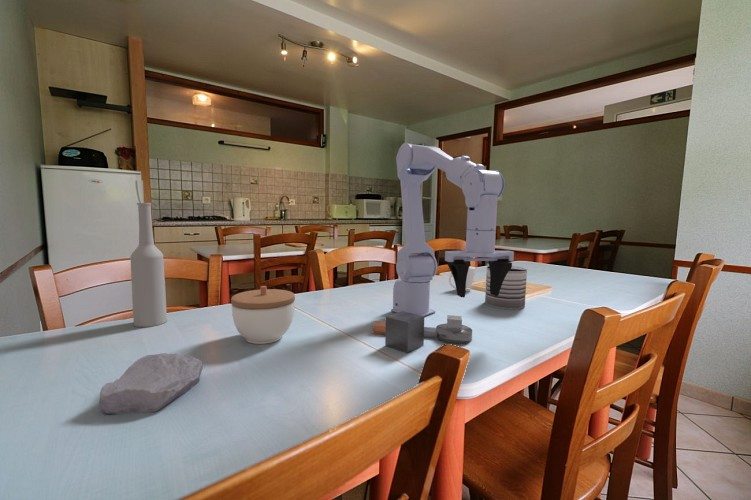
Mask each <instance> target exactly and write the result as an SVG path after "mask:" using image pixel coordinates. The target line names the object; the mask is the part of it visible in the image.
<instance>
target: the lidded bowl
mask: <svg viewBox="0 0 751 500" xmlns="http://www.w3.org/2000/svg"><path fill="white" fill-rule="evenodd" d="M295 300H296V295H295V293H294V292H292V291H290V290H285V289H277V288H273V289H272V288H267V285H261V286H260V289H253V290H246V291H242V292H238V293H236V294H234V295H232V296H231V298H230V304H231V313H232V314H231V315H232V321H233V324H234V326H235V329H236V331H237V332H238V334H239V335H240V336H242V337H243V338H244V339H245V340H246V342H247V343H250V344H254V345H266V344H271V343H275V342H278V341H280V340H281V339H282V338H283V336H284V335H285V334H286V333H287V331H288V330H289V329H290V327H291V325H292V323H293V319H294V314H295Z"/></svg>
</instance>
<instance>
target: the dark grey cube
mask: <svg viewBox="0 0 751 500" xmlns="http://www.w3.org/2000/svg"><path fill="white" fill-rule="evenodd" d="M385 322H386V333H385V336H384V337H385V338H384V339H385V342H384V346H386V347H388V348H392V349H395V350H397V351H400V352H403V353H406V354H409V353H411V352H413V351H414V350H416V349H419V348H421V347H423V346H424V342H425V339H424V338H425V337H424V327H425V316H421V315H417V314H413V313H408V312H404V311H401V312H398V313H397V312H394V313H393V314H389V315H386V316H385Z"/></svg>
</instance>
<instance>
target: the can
mask: <svg viewBox="0 0 751 500" xmlns="http://www.w3.org/2000/svg"><path fill="white" fill-rule="evenodd" d="M486 265H488V266H486V275H485V276H486V277H485V297H484V298H485V300H484V303H485V305H486V306H489V307H491V308H494V309H495V308H496V309H500V310H501V309H502V310H522V309H524V308H525V307H526V306H525V305H526V294H527V293H526V291H527V276H528V274H527V273H528V271H527V270H528V269H527V268H525V267H521V266H514V265H512V268H511V269H510V270H509V272H508V273H507V275H506V277H505V279H504V281H503V283H502V286H501V289H500V292H499V295H498V296H495V295H492V294H490V268H489V263H486Z"/></svg>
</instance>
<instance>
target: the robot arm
mask: <svg viewBox="0 0 751 500" xmlns="http://www.w3.org/2000/svg"><path fill="white" fill-rule="evenodd" d="M395 159H396V172H397V178H398V179H399V181H400V193H401V203H402V215H403V228H404V229H403V230H404V237H405V244H404V245H403V246H402V247H401V248H400V249H399V250H398V251H397V257H396V264H395V267H396V269H395V270H396V273H397V276H398V277H399V278H397V279H396V281H395V282H394V285H393V292H392V294H393V295H392V308H391V309H390V311H391V312H394V313H398V312H401V311H404V312H408V313H413V314H417V315H421V316H424V317H426V316H429V315H431V314H434V313H436V310H435V309H433V308H432V309H430V298H431V297H430V295H431V293H430V291H431V281H433V277H435V276H436V274H437V271H438V262H437V259H436V256H435V250H434V248H433V247H431V246H430V245H429V244H428V243H427V242H426V235H425V234H426V233H425V223H424V212H423V201H422V190H421V186H422V185H421V184H422V183H423V182H425V181H427V180H428V179H429V177H431V175H432V174H433V173H434V171H435V170H436V169H438V170H440V171H442V172H444V173H445V177H446V179H447V180H448V181H449V182H451V183H452V184H454V185H455V186H457V187H459V188H460V189H461V190H462V194H463V196H464V198H465V199H464V200H465V203H464V204H465V207H467V211H466V212H467V213H466V235H465V250H451V251H449V250H448V251H444V261H445V262H447V266H448V268H449V270H450V274H451V273H452V277H453V280H454V284H455V288H456V289H455V290H456V294H457V295H456V296H458V297H460V298H465V297H466V293H467V291H466V279H467V273H468V270H469V266H470V265H469V264H466V262H484V261H485V262H487V264H489V265H488V266H489V268H490V294H492V295H495V296H498V295H499V292H500V289H501V286H502V283H503V281H504V279H505V277H506V275H507V273H508V272H509V270H510V269H511V268H512V266H513V262H514V258H515V256H514V255H515V251H512V250H495V249H496V248H495V247H496V233H497V231H496V230H497V214H498V213H497V212H498V200H499V198H500V197H501V196H502V194H503V193H504V190H505V187H506V186H505V185H506V181H505V177H504V176H503V174H502V173H501V172H499V170H497V169H491V170H487V169H486V168H485V165H484V164H481V163H477V164H476V162H475V163H474V162H473V161H471V158H470V156H468V155H461V156H457V157H452V156H451V155H449V154H447V153H446V152H445V151H443V150H441V148H440V147H437V146H435V145H434V146H433V145H432V146H429V145H420V144H414V143H413V144H412V143H408V142H403V143H402V144H401V145H400V147H399V148H398V150H397V155H396V157H395Z"/></svg>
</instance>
